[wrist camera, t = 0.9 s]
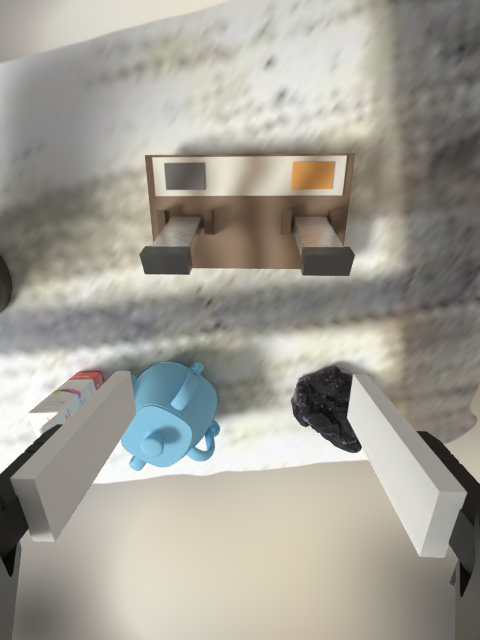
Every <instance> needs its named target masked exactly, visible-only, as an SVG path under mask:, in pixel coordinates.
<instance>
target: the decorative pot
mask: <svg viewBox="0 0 480 640" xmlns="http://www.w3.org/2000/svg"><path fill="white" fill-rule="evenodd" d="M203 370H204V365H203V364H202V363H200V362H196V363H194V364H193V365H192V366H191V368H189V367H186V366H184V365H182V364H179V363H176V362H171V361H164V362H159V363H157V364H155V365H153V366H151V367H149V368H148V369H147V370H145V371H144V372H143V373H142V374H141V375H140V376H139V377H138V378H137V377H136V376H134V375H132V374H131V380H132V387H133V393H134V400H135V406H136V413H137V414H136V415H135V417H134V419H133V420H132V422H131V423H130V425H129V426H128V428H127V430H126V431H125V433H124V434H123V436H122V437H121V443H122V445H123V447H124V448H125V449H126V450H127V451H128V452H129V453H131V454H132V455H133V457H132V459H131V461H130V463H129V465H130V467H131V468H132V469H134V470H137V471H139V470H141V469H142V468H143V467H144V466H145V464H146V463H149V464H152V465H154V466H158V467H168V466H171V465H173V464H174V463H176V462H177V461H179V460H180V459H181V458H183V457H184V456H185V455H186V454H187V456H189V457H190V458H191V459H193V460H196V461H206V460H208V459H209V458H210V457H211V456H212V455H213V453H214V449H215V442H214V437H215V436H217V435H218V434H219V432H220V426H219V425H218V423H217V422H215V421H214V420H213V417H214V415H215V411H216V407H217V394H216V390H215V388H214V387H213V385H212V384H211V383H210V382H209V381H208V380H207V379H206V378H204V377H203V376H202V375H200V374H201V372H202V371H203ZM204 435H205V439H206V445H207V451H202V450H199V449H197V448H196V447H195V446H196V445H197V444H198V442H199V441H200V440H201V439H202V438H203V436H204Z"/></svg>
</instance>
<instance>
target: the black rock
mask: <svg viewBox="0 0 480 640" xmlns="http://www.w3.org/2000/svg"><path fill="white" fill-rule="evenodd" d="M352 380H353V376H352V375H351V373H350V372H349V371H348V370H345V369H344V368H340V367H331V368H329V369H327V370H324V371H318V372H316V373H315V374H312V375H308V376H304V377H301V378H299V380H298V383H297V385H296V388H295V393H294V395H293V397H292V398H291V403H292V407H293V414H294V417H295V418H296V419H297V421H298V422H299V423H300V424H301V425H302V426H304V427H307V426H309V425H310V426H311V427H312V428H313V429H315V430H316V431H317V432H318V433H320V434H321V435H322V436H323V437H324V438H325V439H326V440H329V441H330V442H331V443H332V444H333V445H334V446H336V447H338V448H340V449H342V450H345V451H347V452H351V453H357V452H359V451H360V450H361V448H362V445H361V444H360V442H359V440H358V438H357V436H356V434H355V432H354V430H353V428H352V426H351V424H350V423H349V421H348V419H347V415H348V408H349V401H350V394H351V387H352Z"/></svg>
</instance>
